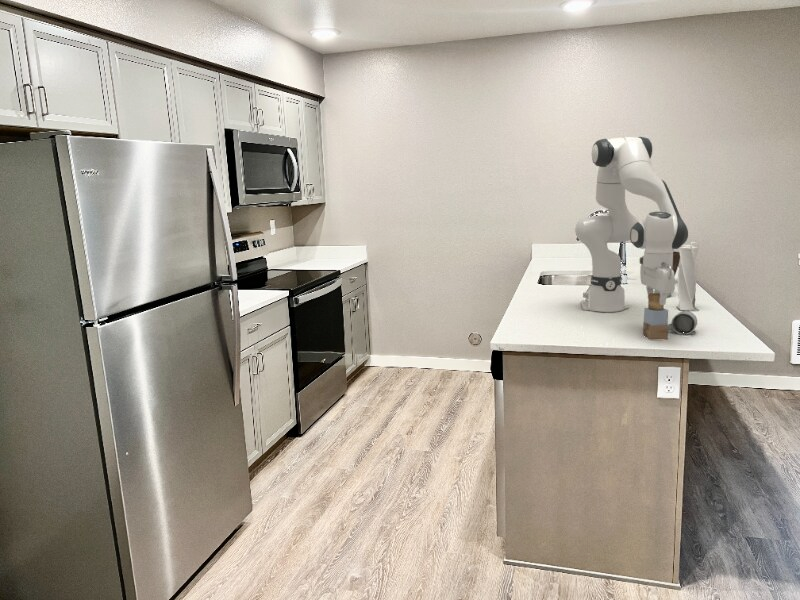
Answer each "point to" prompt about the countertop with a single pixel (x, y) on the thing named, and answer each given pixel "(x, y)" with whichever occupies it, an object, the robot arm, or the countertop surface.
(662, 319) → the slate upper block
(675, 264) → the plant pot
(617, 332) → the countertop surface
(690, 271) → the skyscraper
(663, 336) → the walnut base block
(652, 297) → the oak cylinder
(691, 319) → the ceramic mug
